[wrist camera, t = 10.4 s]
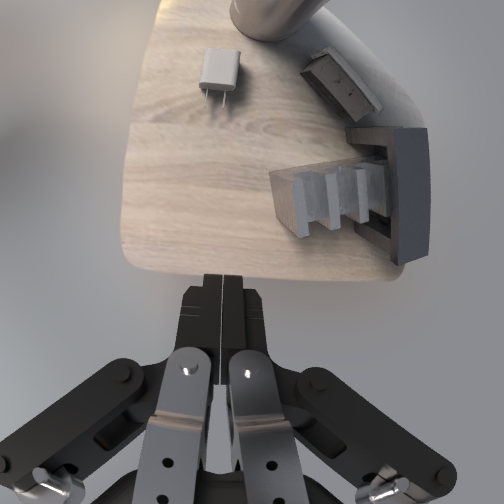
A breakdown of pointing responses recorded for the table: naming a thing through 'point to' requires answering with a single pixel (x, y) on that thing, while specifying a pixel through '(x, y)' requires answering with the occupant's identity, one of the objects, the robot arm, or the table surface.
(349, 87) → the electrical switch
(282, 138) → the table surface
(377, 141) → the grey open box frame
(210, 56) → the usb wall charger
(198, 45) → the table surface
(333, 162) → the heatsink block
